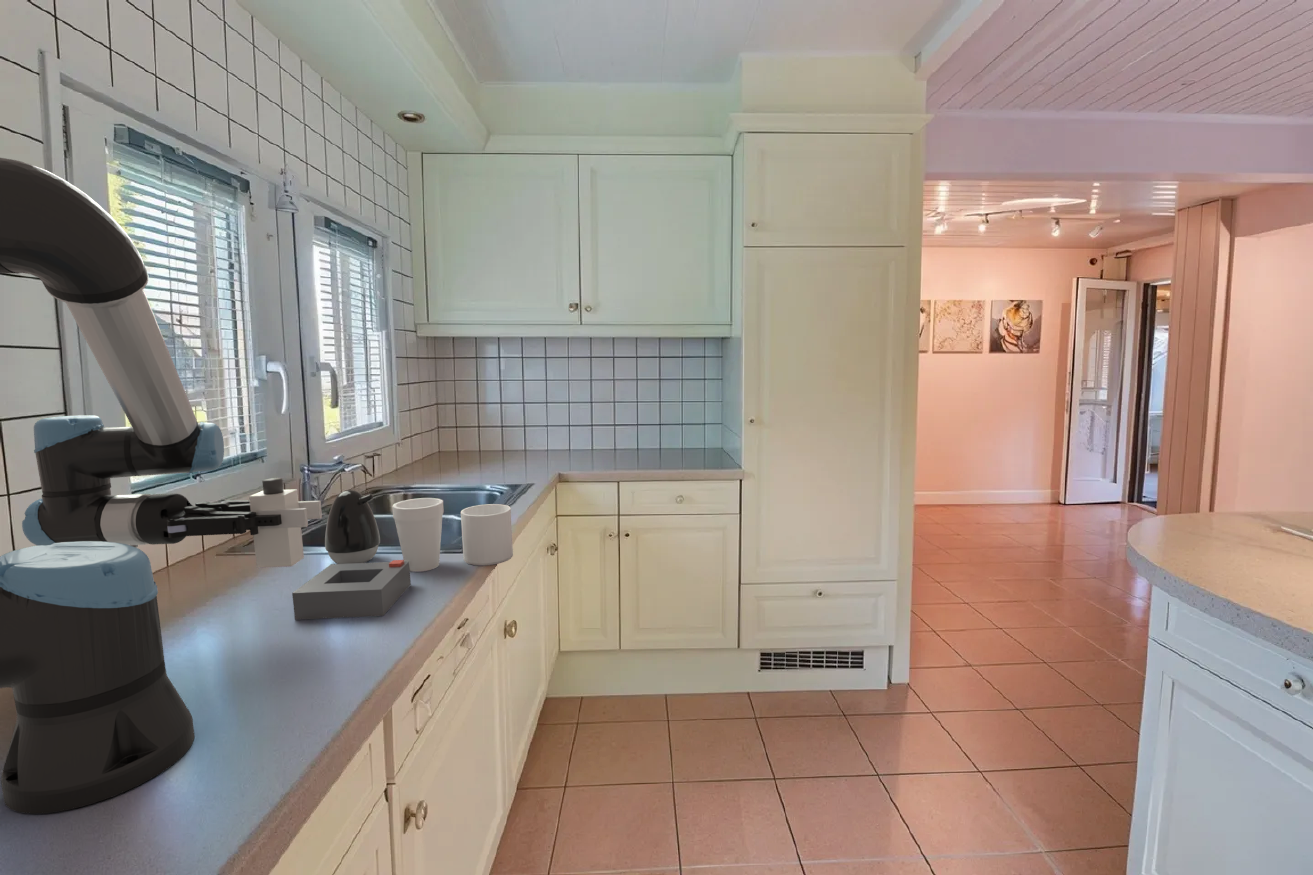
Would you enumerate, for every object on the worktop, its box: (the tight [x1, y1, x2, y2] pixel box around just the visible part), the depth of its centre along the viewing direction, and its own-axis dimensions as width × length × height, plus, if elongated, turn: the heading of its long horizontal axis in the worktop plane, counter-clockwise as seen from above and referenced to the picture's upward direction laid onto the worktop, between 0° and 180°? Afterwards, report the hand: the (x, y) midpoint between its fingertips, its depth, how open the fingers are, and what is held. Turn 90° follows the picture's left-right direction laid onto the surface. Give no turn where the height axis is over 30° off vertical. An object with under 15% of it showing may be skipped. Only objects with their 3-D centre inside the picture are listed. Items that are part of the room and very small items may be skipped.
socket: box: [291, 559, 412, 621], centre depth 110 cm, size 14×14×5 cm
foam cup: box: [391, 497, 445, 573], centre depth 127 cm, size 10×9×13 cm
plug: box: [248, 477, 305, 569], centre depth 96 cm, size 4×5×13 cm
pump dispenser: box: [324, 489, 381, 564], centre depth 130 cm, size 10×10×15 cm
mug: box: [460, 503, 514, 567], centre depth 133 cm, size 13×10×10 cm
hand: (313, 513), depth 96 cm, fingers closed on plug, 4 cm apart
